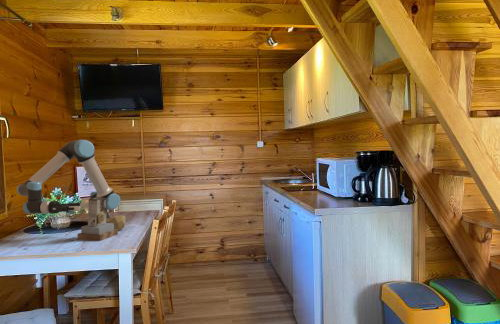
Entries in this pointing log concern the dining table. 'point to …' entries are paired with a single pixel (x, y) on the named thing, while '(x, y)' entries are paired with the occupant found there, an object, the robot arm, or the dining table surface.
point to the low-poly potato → (117, 222)
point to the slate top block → (97, 229)
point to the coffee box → (97, 211)
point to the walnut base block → (97, 237)
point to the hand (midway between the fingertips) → (85, 206)
